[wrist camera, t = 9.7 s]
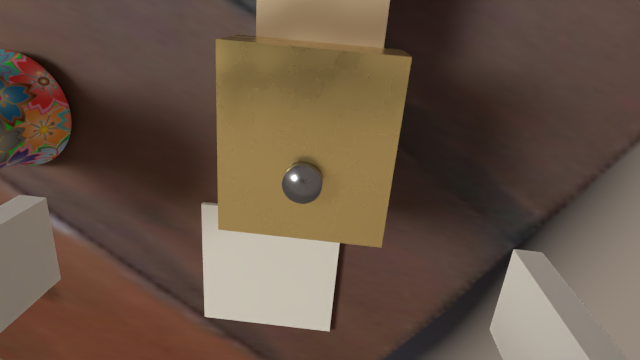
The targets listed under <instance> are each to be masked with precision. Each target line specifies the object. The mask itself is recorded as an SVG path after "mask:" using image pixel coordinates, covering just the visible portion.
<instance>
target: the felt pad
mask: <svg viewBox="0 0 640 360" xmlns="http://www.w3.org/2000/svg"><path fill="white" fill-rule="evenodd" d="M201 211H202V244H203V276H204V309H205V317H211V318H220V319H228V320H237V321H245V322H254V323H262V324H271V325H279V326H288V327H296V328H305V329H314V330H322V331H330V323H331V314H332V305H333V297H334V288H335V280H336V271H337V262H338V254H339V245H340V243H336V242H327V241H317V240H308V239H299V238H290V237H281V236H272V235H263V234H253V233H244V232H235V231H226V230H218V203H209V202H202V204H201Z"/></svg>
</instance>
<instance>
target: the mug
mask: <svg viewBox="0 0 640 360" xmlns="http://www.w3.org/2000/svg"><path fill="white" fill-rule="evenodd" d="M71 124H72V122H71V113H70V108H69V105H68V102H67V99H66V97H65V95H64V93H63V91H62V89H61V88H60V86H59V85H58V83H57V82H56V81H55V79H54V78H53V77H52V76H51V75H50V74H49V73H48V72H47V71H46V70H45V69H44V68H43V67H42V66H41V65H39V64H38V63H37V62H35V61H34V60H32V59H31V58H29V57H27V56H25V55H23V54H21V53H18V52H15V51H12V50H7V49H1V48H0V169H2V168H5V167H8V166H12V165H23V166H33V165H40V164H43V163H46V162H49V161H51V160H52V159H54V158H55V157H57V156H58V155H59V154H60V153H61V152H62V151H63V149H64V148H65V146H66V145H67V143H68V140H69V138H70V134H71Z"/></svg>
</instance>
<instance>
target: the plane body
mask: <svg viewBox="0 0 640 360" xmlns="http://www.w3.org/2000/svg"><path fill="white" fill-rule="evenodd" d="M389 5H390V0H257V14H256V36H258V37H268V38H279V39H290V40H301V41H312V42H323V43H334V44H345V45H356V46H366V47H377V48H384V42H385V35H386V27H387V20H388V13H389Z"/></svg>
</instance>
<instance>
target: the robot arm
mask: <svg viewBox="0 0 640 360" xmlns="http://www.w3.org/2000/svg"><path fill="white" fill-rule="evenodd" d="M60 279H61V277H60V272H59V266H58V261H57V255H56V250H55V244H54V239H53V233H52V228H51V222H50V217H49V211H48V206H47V201H46V198H43V197H34V196H25V195H19V196H17V197H15V198H13V199H12V200H10V201H8V202H6V203H4V204H2V205H0V333H1V332H2V331H3V330H4V329H5V328H6V327H8V326H9V325H10V324H11V323H12V322H13V321H14V320H15V319H16V318H18V317H19V316H20V315H21V314H22V313H23V312H24V311H25V310H27V309H28V308H29V307H30V306H31V305H32V304H33V303H34V302H35V301H37V300H38V299H39V298H40V297H41V296H42V295H43V294H44V293H46V292H47V291H48V290H49V289H50V288H51V287H52V286H53V285H54V284H56V283H57V282H58V281H59V280H60ZM490 331H491V333H492V336H493V338H494V340H495V343H496V345H497V347H498V350H499V352H500V354H501V357H502V359H503V360H628V359H627V358H626V356H625V355H624V354H623V353H622V351H621V350H620V349H619V348H618V346H617V345H616V344H615V343H614V341H613V340H612V339H611V338H610V336H609V335H608V334H607V333H606V331H605V330H604V329H603V328H602V326H601V325H600V324H599V323H598V321H597V320H596V319H595V318H594V316H593V315H592V314H591V313H590V311H589V310H588V309H587V308H586V306H585V305H584V304H583V303H582V301H581V300H580V299H579V298H578V296H577V295H576V294H575V293H574V291H573V290H572V289H571V288H570V286H569V285H568V284H567V283H566V281H565V280H564V279H563V278H562V276H561V275H560V274H559V273H558V271H557V270H556V269H555V268H554V266H553V265H552V264H551V263H550V262H549V260H548V259H547V258H546V257H545V255H544V254H543V253H542V252H534V251H525V250H516V249H514V250H513V253H512V256H511V260H510V263H509V266H508V270H507V273H506V276H505V280H504V283H503V287H502V290H501V293H500V296H499V300H498V303H497V306H496V310H495V313H494V316H493V320H492V323H491V326H490Z"/></svg>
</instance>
